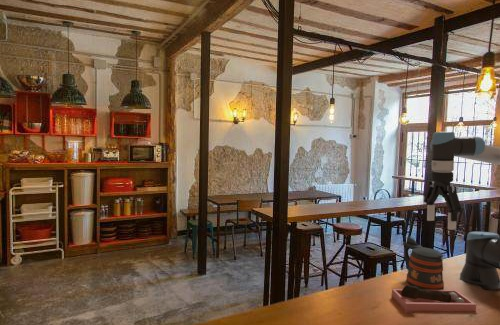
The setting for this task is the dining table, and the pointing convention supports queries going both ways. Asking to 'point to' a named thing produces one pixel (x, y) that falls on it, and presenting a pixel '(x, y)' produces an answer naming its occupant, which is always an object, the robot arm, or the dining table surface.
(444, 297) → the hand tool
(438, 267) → the beer stein
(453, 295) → the light grey ball
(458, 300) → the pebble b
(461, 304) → the pink tray
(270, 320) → the dining table surface
